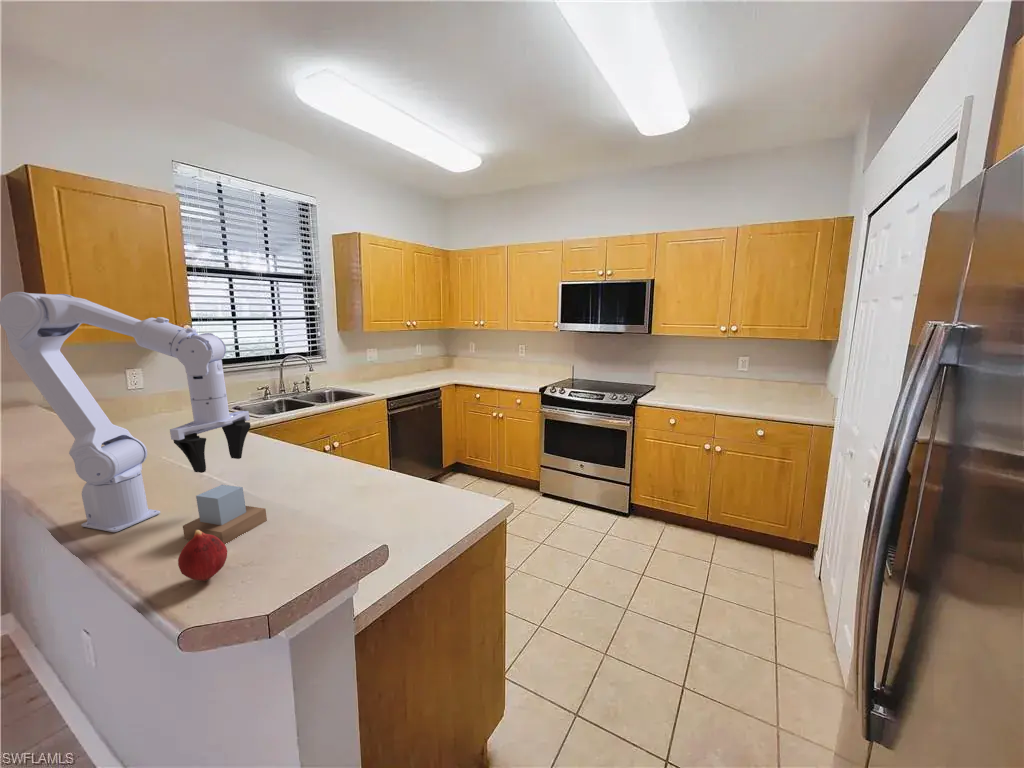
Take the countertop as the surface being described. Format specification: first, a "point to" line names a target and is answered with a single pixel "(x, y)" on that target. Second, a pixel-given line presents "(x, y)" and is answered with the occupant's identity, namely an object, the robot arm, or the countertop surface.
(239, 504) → the cube
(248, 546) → the countertop surface
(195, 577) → the onion
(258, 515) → the base
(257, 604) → the countertop surface
